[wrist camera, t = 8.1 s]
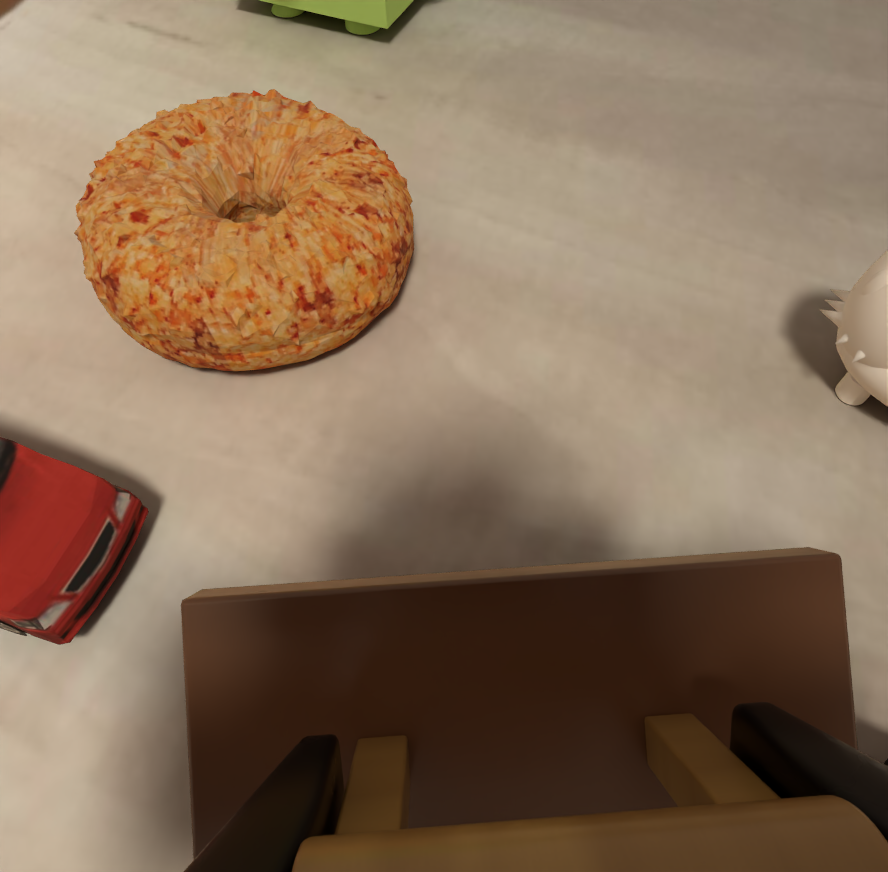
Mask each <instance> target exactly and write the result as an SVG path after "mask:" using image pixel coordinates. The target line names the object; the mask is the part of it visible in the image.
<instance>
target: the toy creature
mask: <svg viewBox="0 0 888 872" xmlns="http://www.w3.org/2000/svg"><path fill="white" fill-rule="evenodd" d="M830 290H831V291H832V292H833V293H835V294H836V295H837V296H838V297H839V298H840V299H841V300H843V301H844V302H842V301H833V300H825V301H826V302H827V303H828V304H830V305H831V306H832V307H833V308H834V309H835V310H836V311H829V310H821V309H819V310H820V311H821V312H822V313H823V314H824V315H825V316H826V317H828V318H829V319H830V320H831V321H832V322H833V323H834V324H836V325H837V326H838V327H839V328H838V333H837V341H836V343H835V344H836V348H837V350H838V353H839V355H840V357H841V359H842V361H843V363H844V366H845V368H846V370H847V371H848V372H847V373H846V375H845V376H844V377H843V378H842V379H841V381H840V382H839V383H838V384H837V385H836V388H835V391H836V394H837V396H838V398H839V399H840V400H841V401H843V402H844V403H846V404H849V405H860V404H862V403H864V402H865V401H866V400H867V398H868V397H869V396H870V395H872V396H874V397H875V398H876V399H878V400H879V401H880V402H882V403H883V404H884V405H886V406H887V407H888V250H887V251H886V252H885V253H884V254H883V255H882V256H881V257H880V258H879V259H878V260H877V261H876V262H875V263H874V264H873V265H872V266H871V267H870V268H869V269H868V270H867V271H866V272H865V273H864V274H863V276H862V277H861V278H860V279H859V280H858V282H857V283H856V284H855V285H854V287H853V288H852V290H851V291H841V290H832V289H830Z"/></svg>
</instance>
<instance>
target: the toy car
mask: <svg viewBox="0 0 888 872" xmlns="http://www.w3.org/2000/svg"><path fill="white" fill-rule="evenodd" d="M148 512H149V511H148V509H147V508H146V507H144V506H143V505H142V503H141V501H140V499H138V498H137V497H136V496H135V495H134V494H132V493H131V492H130V491H128V490H126V489H123V488H121V487H118V486H116V485H113V484H111V483H110V482H108V481H107V480H105V479H103V478H101V477H99V476H96V475H94V474H92V473H89V472H87V471H85V470H83V469H80V468H78V467H76V466H73V465H70V464H68V463H65V462H62V461H59V460H56V459H54V458H51V457H48V456H45V455H43V454H40V453H38V452H36V451H33V450H31V449H29V448H27V447H25V446H23V445H21V444H18V443H16V442H14V441H12V440H9V439H5V438H2V437H0V628H2V629H5V630H8V631H11V632H14V633H17V634H20V635H24V636H27V635H26V634H25V633H23V632H27V633H29V634H31V635H33V636H35V637H38V638H41V639H44V640H47V641H50V642H53V643H56V644H64V643H69V642H71V641H72V639H73V638H74V637H75V635H76V634H77V633H78V631H79V630H80V629H81V627H82V626H83V625H84V623H85V622H86V621H87V619H88V618H89V617H90V616H91V614H92V613H93V612H94V610H95V609H96V607H97V606H98V604H99V603H100V601H101V600H102V598H103V597H104V595H105V594H106V592H107V591H108V589H109V588H110V586H111V585H112V583H113V582H114V580H115V579H116V577H117V576H118V574H119V572H120V570H121V568H122V566H123V564H124V562H125V561H126V559H127V557H128V555H129V553H130V551H131V549H132V547H133V545H134V543H135V542H136V539H137V537H138V535H139V532H140V530H141V528H142V525H143V523H144V521H145V519H146V516H147V514H148ZM21 631H23V632H21Z"/></svg>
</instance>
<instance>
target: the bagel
mask: <svg viewBox="0 0 888 872" xmlns="http://www.w3.org/2000/svg"><path fill="white" fill-rule="evenodd" d="M94 163H95V166H96V168H95V170H94V171H93V172H92V173H89V175H90V177H91V179H92V180H91V181H90V182H89V183H88V185H87V186H86V187H87V189H86V191H85V194H84V196H83V197H82V198H81V199H80V200H79V203H78V204H77V205H76V211H77V217H78V219H79V221H80V222H81V225H80V226H79V227H78V228H77V230H76V231H75V232H74V233H75V234H76V235H77V236H78V240H79V241H80V242H81V244H82V249H83V255H84V260H83V264H84V266H85V271H84V274H85V275H86V279H88V280H89V281H91V282H92V285H93V288H94V290H95V292H96V294H97V296H98V299H99V300H100V302H101V303H102V305H103V306H104V307H105V309H106V310H107V312H108V313H109V314H110V316H111V317H112V319H113V320H114V321H116V322H117V323H118V324H119V325H120V326H121V327H122V329H123V330H124V331H125V332H126V333H127V334H128V335H130V336H131V337H132V338H133V339H135V340H136V341H137V342H138V343H140V344H141V345H142V346H144V347H146V348H147V349H149V350H151V351H153V352H155V353H157V354H159V355H160V356H162V357H164V358H166V359H170V360H174V361H179V362H181V363H184V364H186V365H188V366H191V367H199V368H214V369H217V370H225V371H245V370H258V369H264V368H271V367H276V366H281V365H286V364H291V363H296V362H301V361H306V360H309V359H312V358H314V357H316V356H318V355H320V354H322V353H324V352H327V351H330V350H332V349H335V348H337V347H339V346H341V345H343V344H344V343H346V342H348V341H349V340H351V339H353V338H354V337H355V336H356V335H357V334H358V333H359V332H361V331H362V330H363V329H364V328H365V327H366V326H367V325H368V324H369V323H370V322H372V321H373V320H374V319H375V318H376V317H377V316H378V315H379V314H380V313H381V312H382V311H383V310H384V309H386V308H388V307H389V306H390V305H391V303H392V302H393V300H394V299H395V298H396V296H397V295H398V292H399V289H400V286H401V284H402V282H403V280H404V278H405V276H406V272H407V269H408V266H409V262H410V259H411V256H412V253H413V250H414V241H413V213H412V210H411V206H410V205H411V203H412V199H411V196H410V194H409V192H408V189H407V179H405V178H404V177H402V176H401V175H400V174H399V172H398V171H397V169H396V168H395V166H394V162H392V161H390V160H389V159H388V154H386V152H385V151H381V150H380V149H379V148H378V146H377V145H376V143H375V142H374V140H372V139H371V138H369V137H368V136H366V135H364V134H363V133H362V132H361V130H360V129H359V128H354V127H350V126H349V125H347V124H346V123H345V122H344V121H343V120H342V119H340V118H338V117H337V116H335V115H333V114H331V113H327V112H325V111H323V110H319V109H317V107H316V106H315V105H314V104H313V103H312V102H311V101H308V102H306V103H300V102H297V101H294V100H291V99H288V98H285V97H283V96H282V95H281V94H280V93H278V92H277V91H276V90H275V89H273V90H269V91H268V93H267V94H266V95H262V94H260V93H258V92H256V91H254V90H253V93H251V94H247V93H231V94H230V95H229V96H228V97H213V98H212V99H203V100H197V103H195V104H190V105H187V104H181V105H180V106H179V107H178V109H177V108H176V109H174V110H172V111H170V112H168V111H166V110H162V111H159V112H157V113H156V119H155V120H153V121H151V122H148V123H147V124H144V125H143V126H142V127H141V128H140V129H136V130H134V131H132V132H130V134H129V135H128V136H127V137H125V138H123V139H121V140H119V141H116V147H115V149H114V150H112V151H110V152H107V154H106V157H104V158H103V159H102V160H98V161H94Z"/></svg>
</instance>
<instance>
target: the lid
mask: <svg viewBox="0 0 888 872" xmlns="http://www.w3.org/2000/svg"><path fill="white" fill-rule="evenodd" d="M181 615H182V635H183V655H184V676H185V696H186V716H187V737H188V757H189V777H190V798H191V818H192V838H193V858H194V859H195V858H196V857H197V856H198V855H199V854H200V853H201V852H202V850H203V849H204V848H205V847H206V846H207V845H208V844H209V843H210V841H211V840H212V839H213V838H214V837H215V836H216V835H217V834H218V832H219V831H220V830H221V829H222V828H223V827H224V826H225V825H226V823H227V822H228V821H229V820H230V819H231V818H232V817H233V816H234V814H235V813H236V812H237V811H238V810H239V809H240V808H241V807H242V806H243V804H244V803H245V802H246V801H247V800H248V799H249V798H250V797H251V795H252V794H253V793H254V792H255V791H256V790H257V789H258V788H259V786H260V785H261V784H262V783H263V782H264V781H265V780H266V779H267V777H268V776H269V775H270V774H271V773H272V772H273V771H274V770H275V768H276V767H277V766H278V765H279V764H280V763H281V762H282V761H283V759H284V758H285V757H286V756H287V755H288V754H289V753H290V752H291V750H292V749H293V748H294V747H295V746H296V745H297V744H298V743H299V742H300V740H301V739H303V738H304V737H306V736H314V735H328V734H334V735H335V736H336V737H337V738H338V740H339V745H340V754H341V763H342V773H343V782H344V792H345V793H344V797H343V801H342V805H341V809H340V813H339V817H338V821H337V825H336V829H335V833H334V835H323V836H311V837H309V838H307V839H305V840H304V841H303V842H302V843H301V845H300V847H299V849H298V852H297V854H296V857H295V861H294V864H293V868H292V872H888V842H887V840H886V839H885V837H884V836H883V835H882V833H881V832H880V831H879V829H878V828H877V827H876V826H875V824H874V823H873V822H872V821H871V820H870V819H869V818H868V817H867V816H866V815H865V814H864V813H863V812H862V811H861V810H860V809H859V808H858V807H856V806H855V805H853V804H852V803H851V802H849V801H847V800H845V799H842V798H840V797H837V796H833V795H820V796H807V797H795V798H783V799H781V798H780V797H779V796H778V795H777V794H776V793H775V792H774V791H773V790H772V789H771V788H770V787H769V786H768V785H766V784H765V783H764V782H763V781H762V780H761V779H760V778H759V777H758V776H757V775H756V774H755V773H754V772H753V771H752V770H751V769H750V768H749V767H748V766H747V765H745V764H744V763H743V762H742V761H741V760H740V759H739V758H738V757H737V756H736V755H735V754H734V753H733V752H732V751H731V750H730V738H731V720H732V712H733V709H734V707H735V706H737V705H738V704H742V703H755V702H768V703H771V704H773V705H775V706H777V707H779V708H781V709H783V710H784V711H786V712H788V713H790V714H792V715H794V716H796V717H797V718H799V719H801V720H803V721H805V722H807V723H809V724H810V725H812V726H814V727H816V728H818V729H820V730H822V731H823V732H825V733H827V734H829V735H831V736H833V737H835V738H836V739H838V740H840V741H842V742H844V743H846V744H848V745H849V746H851V747H853V748H855V749H857V750H858V747H857V736H856V724H855V713H854V701H853V690H852V678H851V667H850V655H849V644H848V632H847V621H846V609H845V598H844V586H843V575H842V563H841V558H840V556H839V555H838V554H836V553H832V552H827V551H823V550H818V549H814V548H810V547H804V548H790V549H776V550H761V551H747V552H733V553H718V554H704V555H690V556H675V557H661V558H647V559H632V560H618V561H603V562H589V563H575V564H560V565H546V566H532V567H517V568H503V569H489V570H474V571H460V572H446V573H431V574H417V575H403V576H388V577H374V578H359V579H345V580H331V581H316V582H302V583H288V584H273V585H259V586H245V587H230V588H216V589H202V590H200V591H198V592H196V593H195V594H193V595H191V596H189V597H188V598H186V599H184V600H182V603H181Z"/></svg>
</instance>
